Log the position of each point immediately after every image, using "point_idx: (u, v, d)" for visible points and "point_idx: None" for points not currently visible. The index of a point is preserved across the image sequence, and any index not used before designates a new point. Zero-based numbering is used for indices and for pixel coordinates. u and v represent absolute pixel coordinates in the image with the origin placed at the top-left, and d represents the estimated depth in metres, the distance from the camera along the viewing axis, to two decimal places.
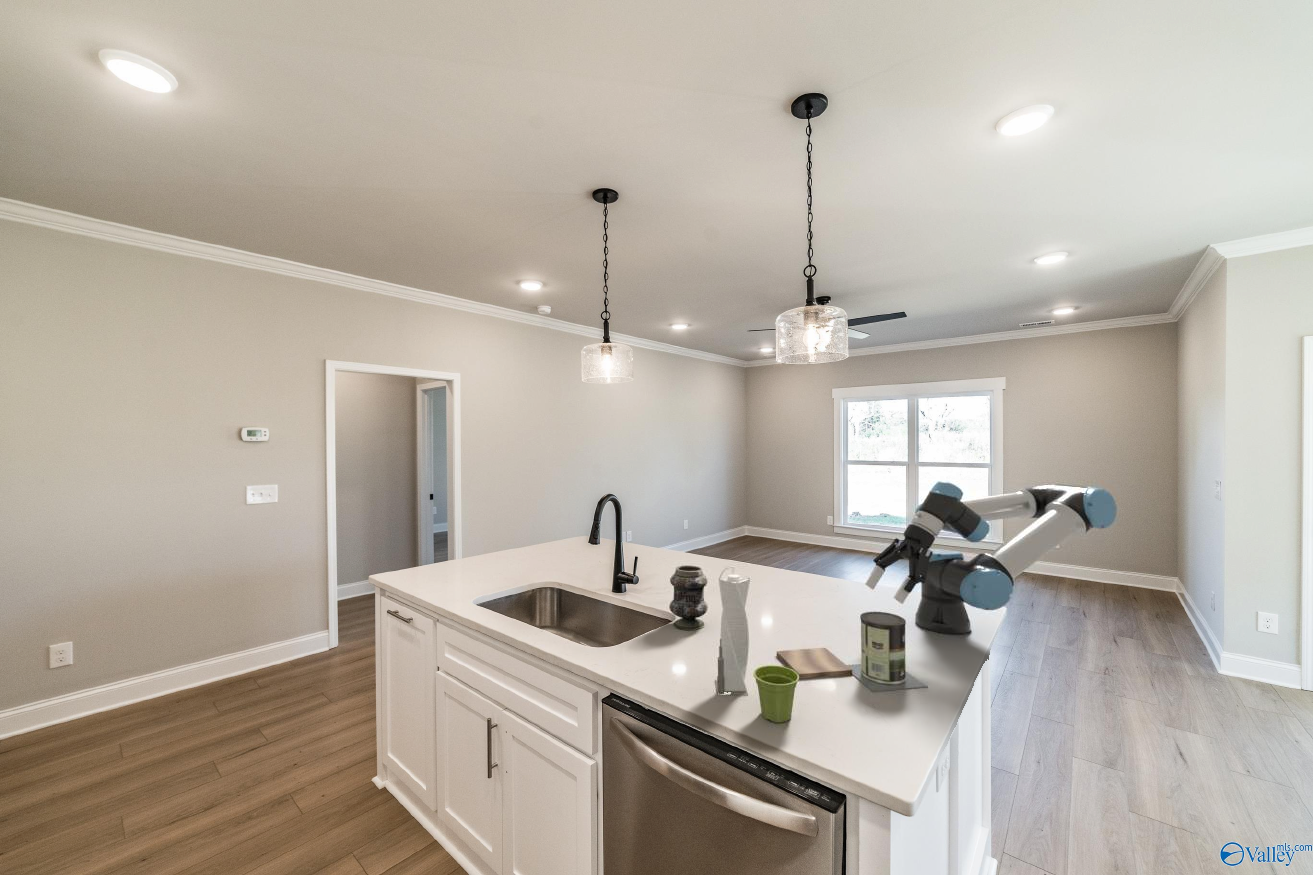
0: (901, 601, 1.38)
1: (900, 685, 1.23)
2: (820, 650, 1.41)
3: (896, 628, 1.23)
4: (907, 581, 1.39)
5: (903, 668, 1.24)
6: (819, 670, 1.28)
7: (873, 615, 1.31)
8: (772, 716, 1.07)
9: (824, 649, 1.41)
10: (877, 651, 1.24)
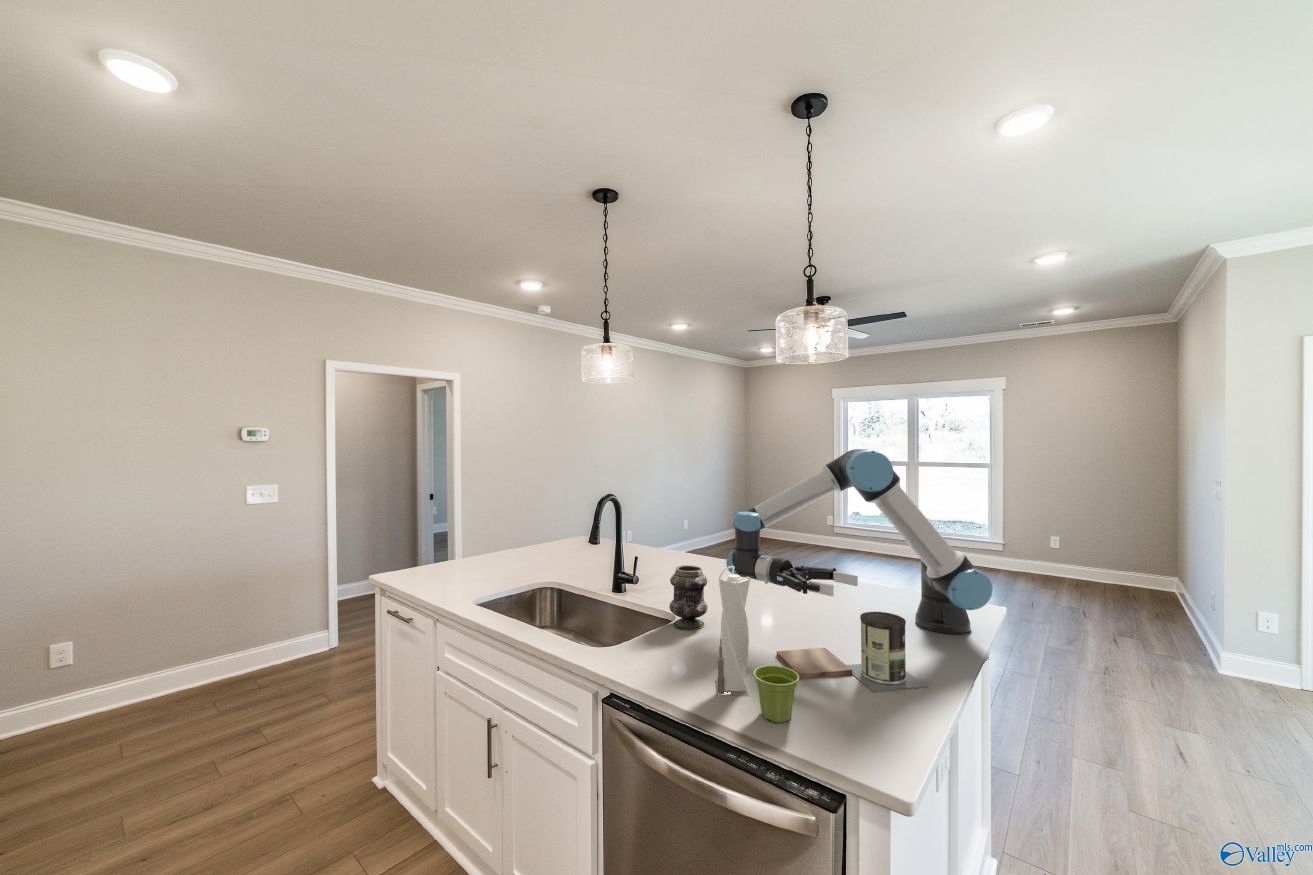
0: (830, 587, 1.30)
1: (900, 685, 1.23)
2: (820, 650, 1.41)
3: (896, 628, 1.23)
4: (811, 590, 1.34)
5: (903, 668, 1.24)
6: (819, 670, 1.28)
7: (873, 615, 1.31)
8: (772, 716, 1.07)
9: (824, 649, 1.41)
10: (877, 651, 1.24)
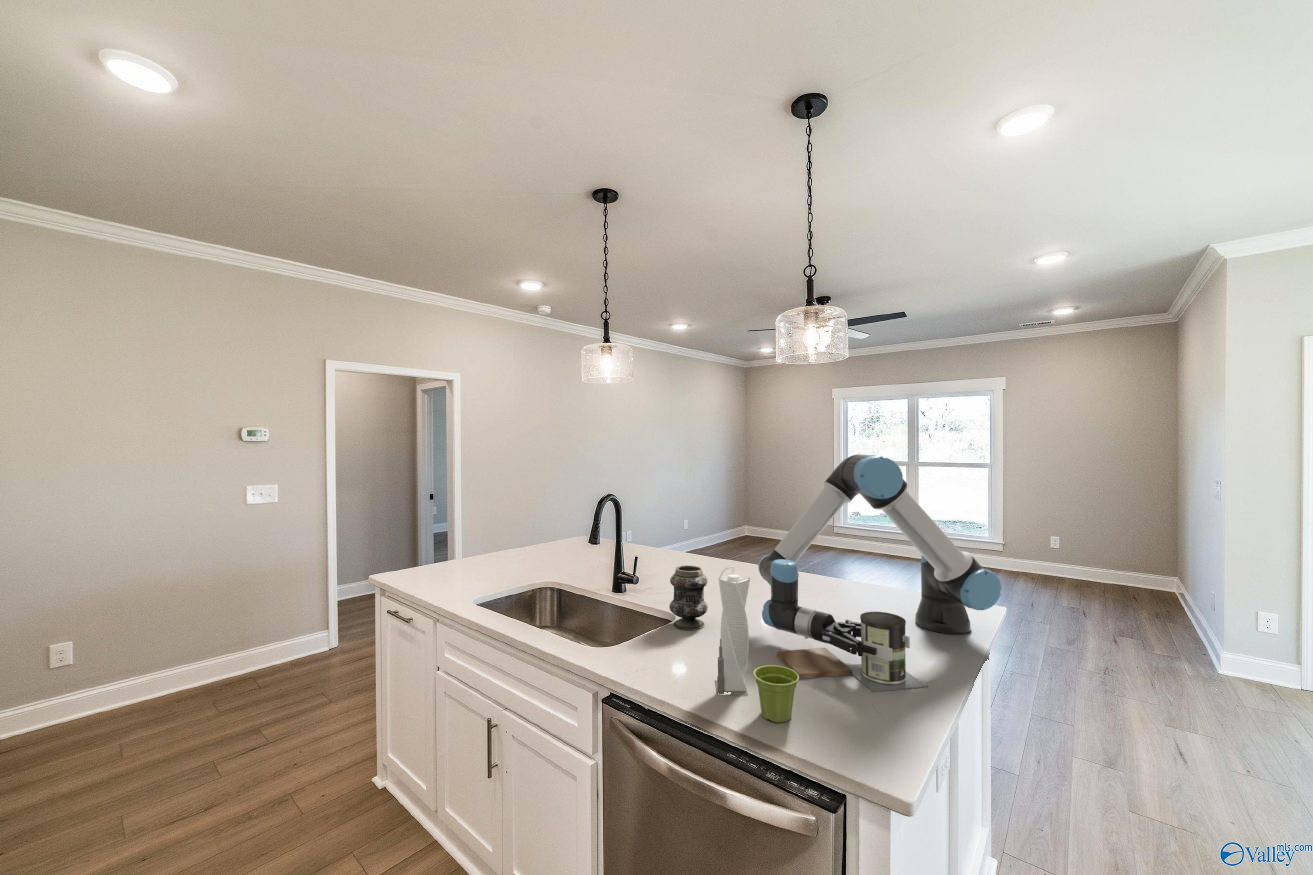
0: (889, 651, 1.21)
1: (900, 685, 1.23)
2: (820, 650, 1.41)
3: (896, 628, 1.23)
4: None
5: (903, 668, 1.24)
6: (819, 670, 1.28)
7: (873, 615, 1.31)
8: (772, 716, 1.07)
9: (824, 649, 1.41)
10: None
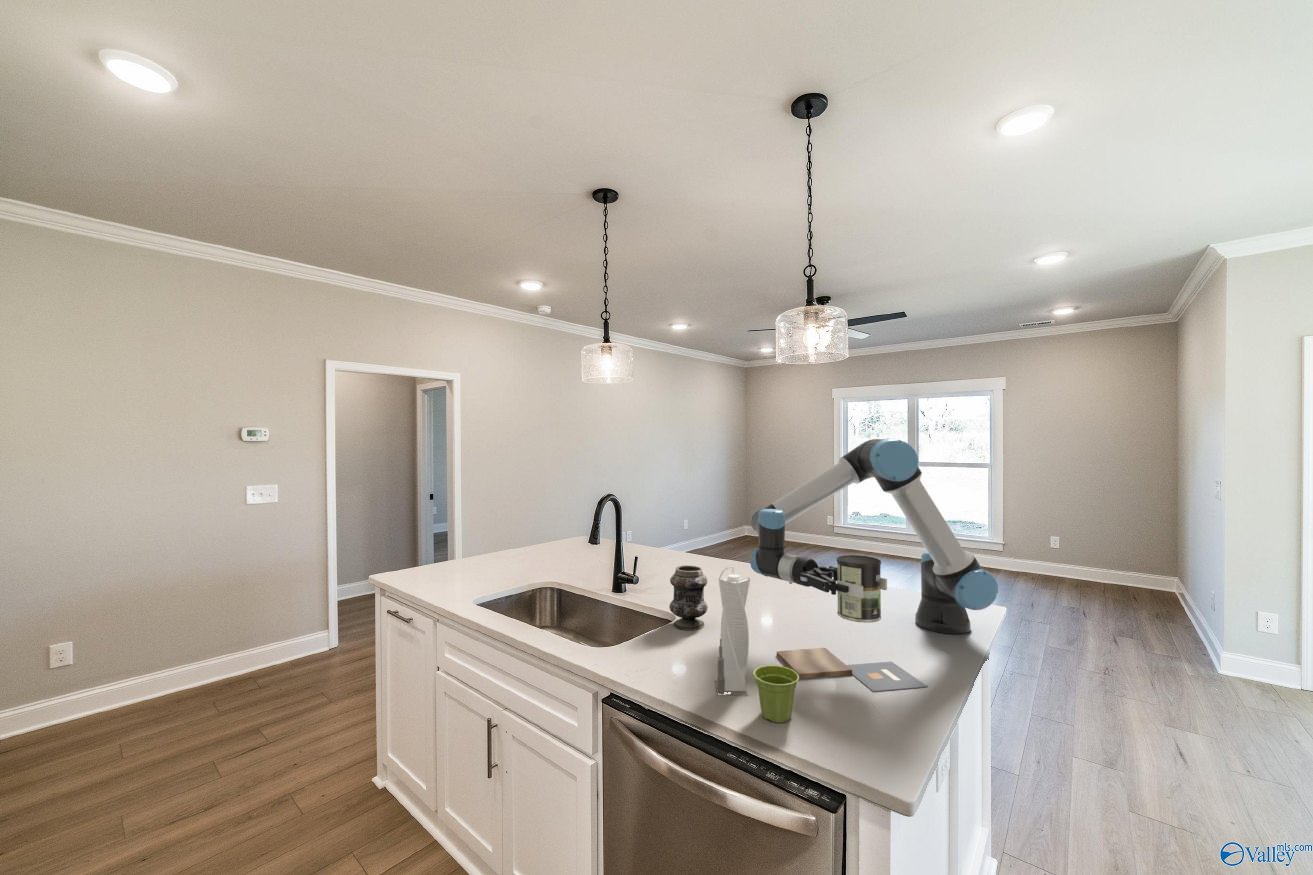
0: (860, 589, 1.23)
1: (900, 685, 1.23)
2: (820, 650, 1.41)
3: (868, 567, 1.25)
4: (840, 590, 1.27)
5: (876, 607, 1.25)
6: (819, 670, 1.28)
7: (851, 557, 1.32)
8: (772, 716, 1.07)
9: (824, 649, 1.41)
10: None
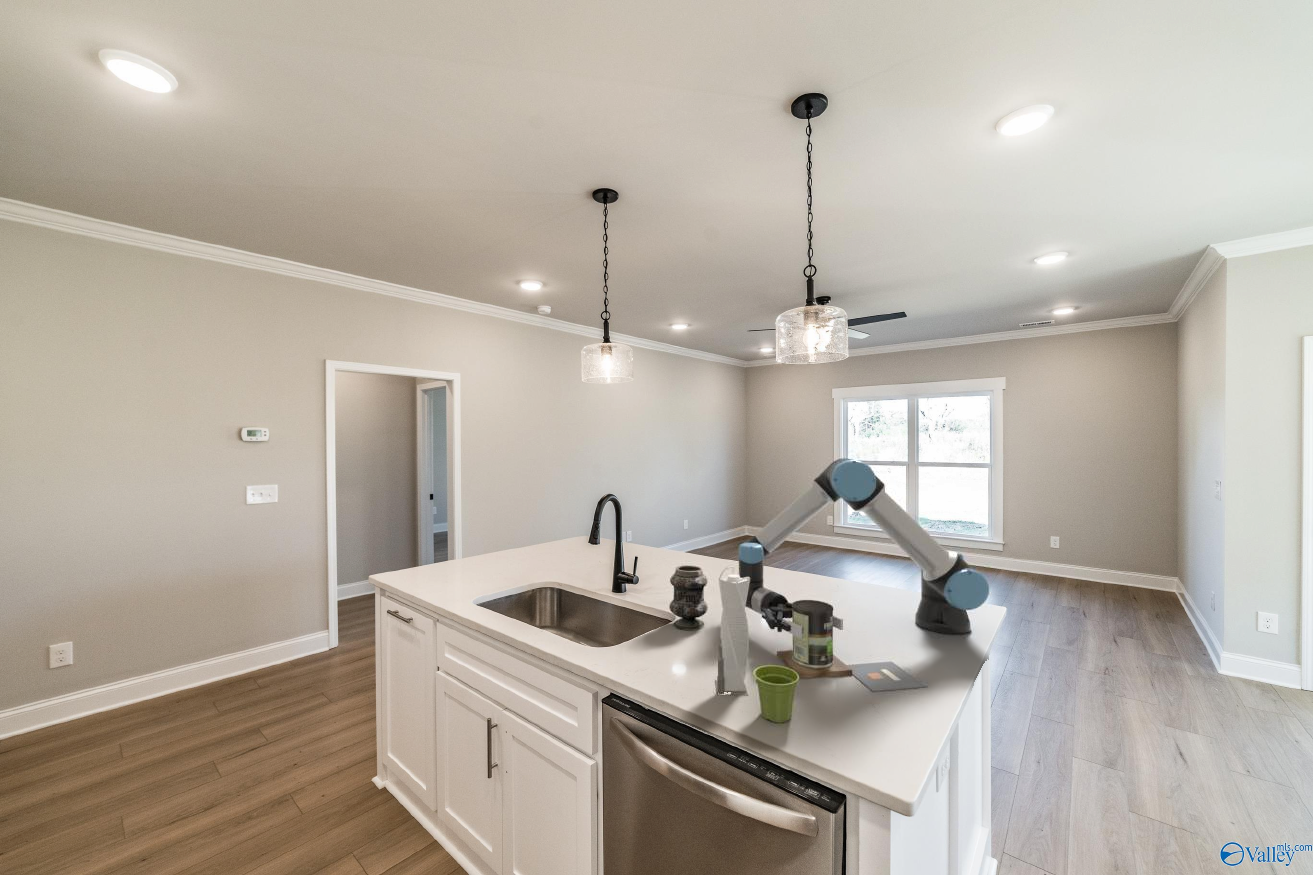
0: (798, 629, 1.29)
1: (900, 685, 1.23)
2: None
3: (815, 615, 1.30)
4: None
5: (825, 654, 1.30)
6: (819, 670, 1.28)
7: (808, 602, 1.38)
8: (772, 716, 1.07)
9: None
10: None
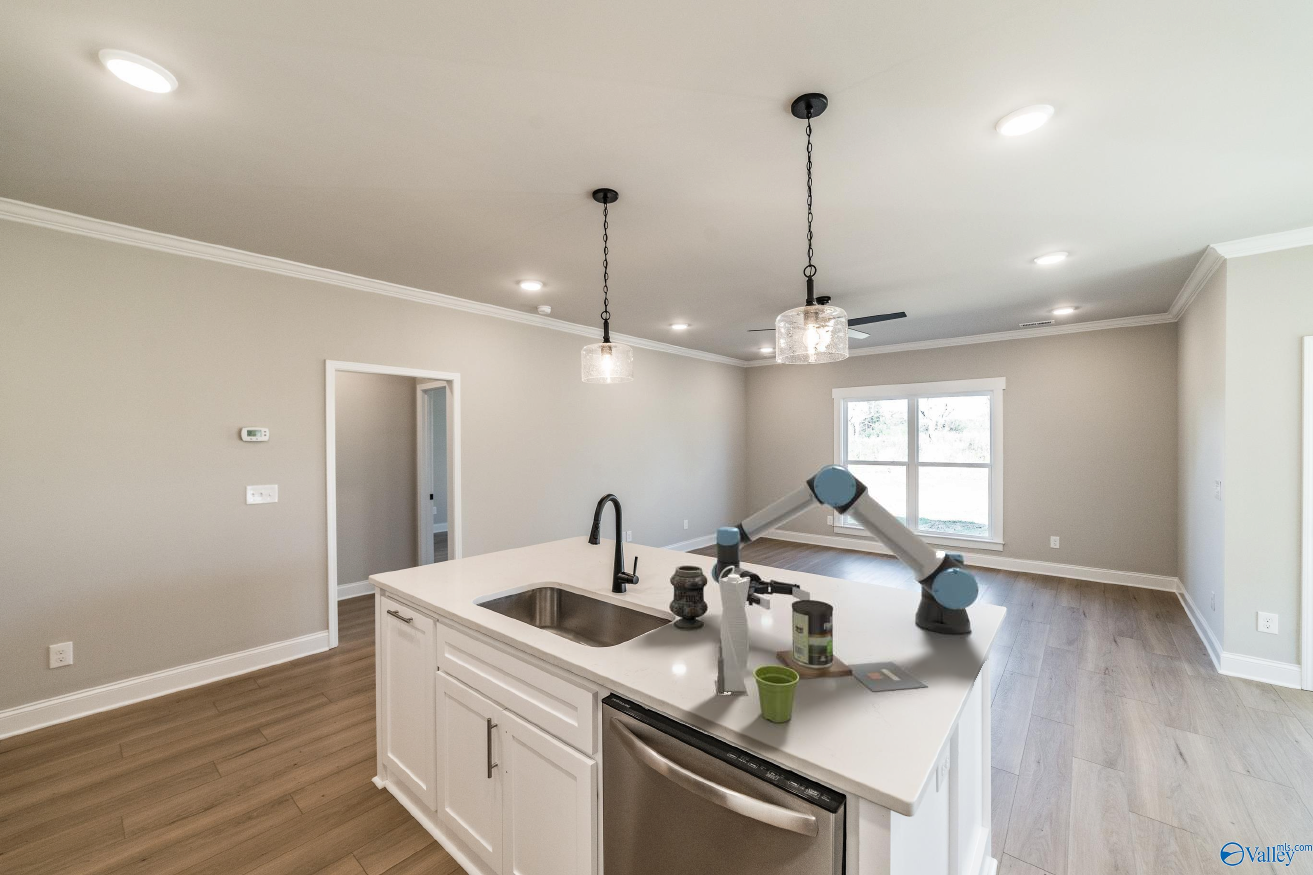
0: (766, 601, 1.40)
1: (900, 685, 1.23)
2: None
3: (815, 615, 1.30)
4: None
5: (824, 654, 1.30)
6: (819, 670, 1.28)
7: (808, 602, 1.38)
8: (772, 716, 1.07)
9: None
10: (798, 635, 1.32)
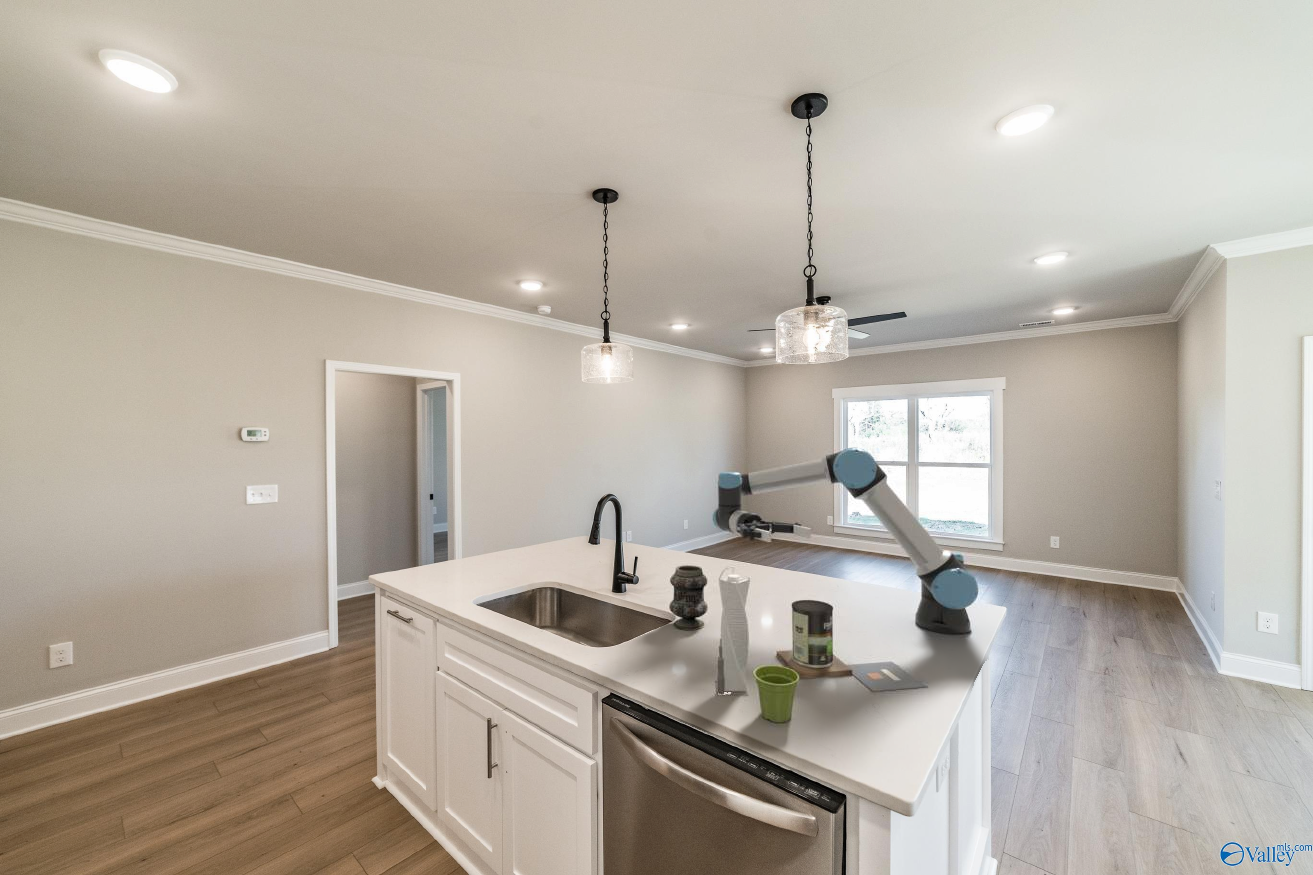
0: (768, 534, 1.41)
1: (900, 685, 1.23)
2: None
3: (815, 615, 1.30)
4: None
5: (824, 654, 1.30)
6: (819, 670, 1.28)
7: (808, 602, 1.38)
8: (772, 716, 1.07)
9: None
10: (798, 634, 1.32)
